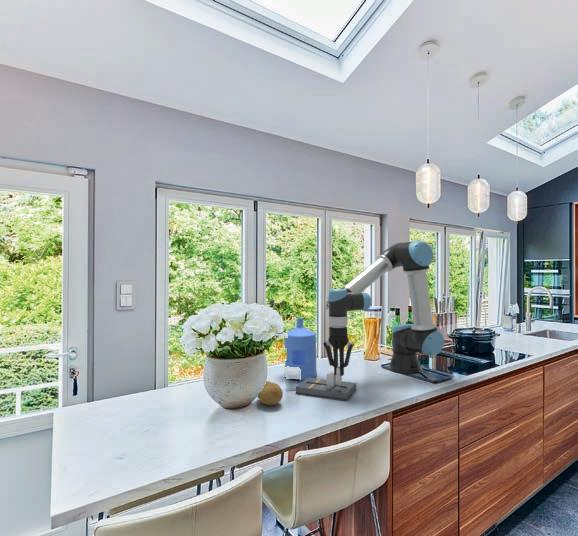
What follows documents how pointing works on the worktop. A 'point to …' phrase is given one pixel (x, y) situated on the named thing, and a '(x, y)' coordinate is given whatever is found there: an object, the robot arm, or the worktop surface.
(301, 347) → the water jug
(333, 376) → the fader
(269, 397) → the potato
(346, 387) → the console
